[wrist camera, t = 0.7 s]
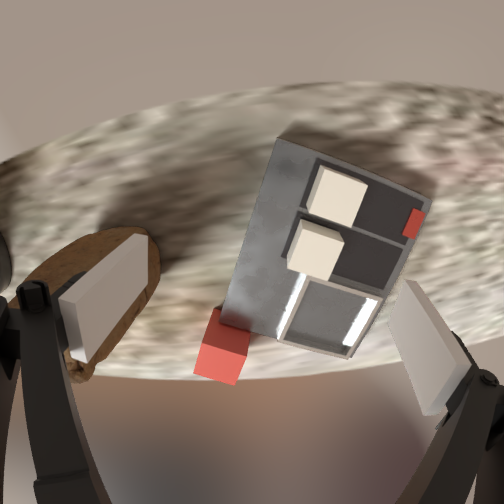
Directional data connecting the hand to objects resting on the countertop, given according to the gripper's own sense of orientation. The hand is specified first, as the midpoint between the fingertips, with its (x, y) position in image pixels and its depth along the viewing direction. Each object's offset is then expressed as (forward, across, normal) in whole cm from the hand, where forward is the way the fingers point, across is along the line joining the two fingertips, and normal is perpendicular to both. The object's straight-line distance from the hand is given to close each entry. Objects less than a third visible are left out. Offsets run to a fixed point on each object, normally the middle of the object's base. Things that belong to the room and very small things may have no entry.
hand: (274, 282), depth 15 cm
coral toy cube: (+19, -4, -18) cm, 26 cm away
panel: (+19, +6, -6) cm, 21 cm away
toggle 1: (+16, +5, +2) cm, 16 cm away
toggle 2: (+16, +4, -3) cm, 16 cm away
